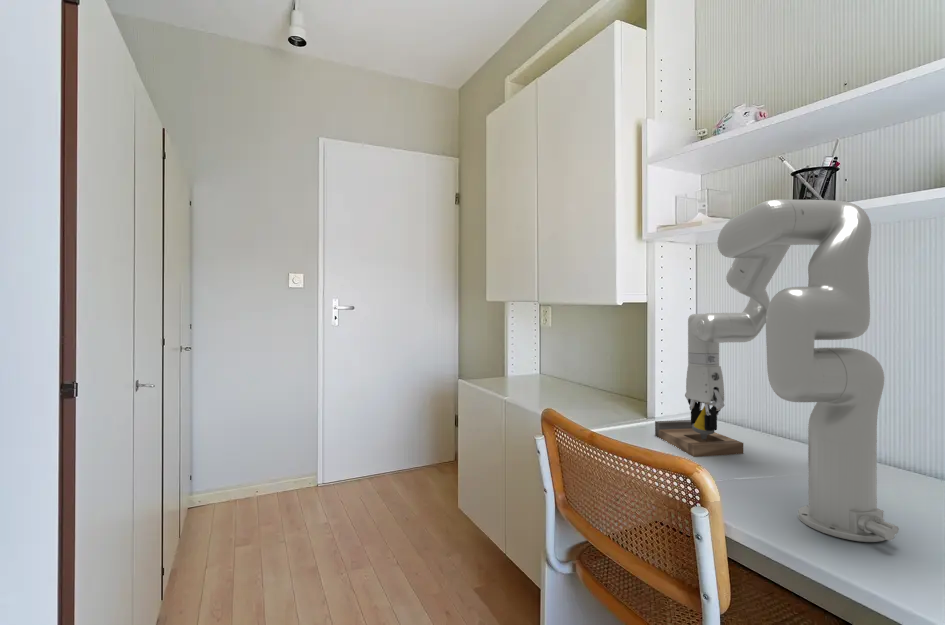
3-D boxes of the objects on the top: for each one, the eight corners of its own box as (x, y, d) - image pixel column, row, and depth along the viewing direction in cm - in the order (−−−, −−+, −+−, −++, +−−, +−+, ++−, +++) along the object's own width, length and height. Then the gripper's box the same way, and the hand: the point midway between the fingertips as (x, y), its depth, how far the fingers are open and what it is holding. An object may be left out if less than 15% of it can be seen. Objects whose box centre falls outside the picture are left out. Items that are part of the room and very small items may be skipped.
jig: (743, 454, 119) (743, 435, 119) (693, 457, 117) (693, 437, 117) (698, 436, 137) (698, 419, 137) (655, 438, 135) (655, 421, 135)
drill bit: (708, 435, 127) (711, 401, 125) (716, 444, 122) (720, 409, 120) (688, 435, 127) (691, 400, 125) (695, 444, 122) (698, 408, 120)
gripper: (738, 362, 116) (739, 435, 116) (696, 356, 133) (696, 419, 133) (711, 363, 115) (712, 436, 115) (672, 357, 132) (672, 420, 132)
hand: (703, 426), depth 124 cm, fingers closed on drill bit, 5 cm apart
